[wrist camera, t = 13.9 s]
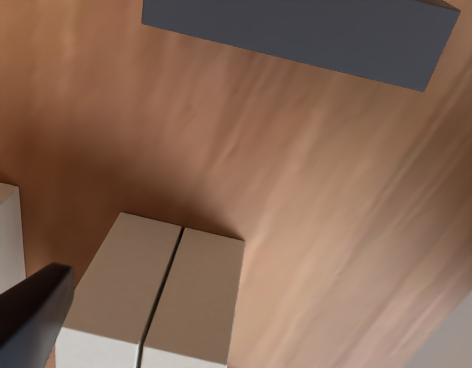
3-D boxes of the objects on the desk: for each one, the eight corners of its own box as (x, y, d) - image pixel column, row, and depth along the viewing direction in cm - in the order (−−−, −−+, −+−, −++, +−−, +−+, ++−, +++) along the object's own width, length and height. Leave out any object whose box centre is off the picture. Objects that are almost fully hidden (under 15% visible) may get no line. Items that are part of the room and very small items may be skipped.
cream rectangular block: (246, 241, 25) (227, 365, 18) (217, 342, 29) (193, 471, 23) (185, 226, 24) (143, 345, 18) (166, 330, 29) (127, 455, 22)
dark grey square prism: (441, -1, 17) (461, 11, 15) (409, 72, 19) (424, 92, 17) (166, -69, 17) (148, -66, 15) (158, 11, 19) (141, 24, 16)
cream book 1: (181, 225, 24) (138, 344, 18) (163, 329, 29) (123, 454, 22) (120, 211, 24) (53, 325, 18) (112, 317, 29) (57, 439, 22)
